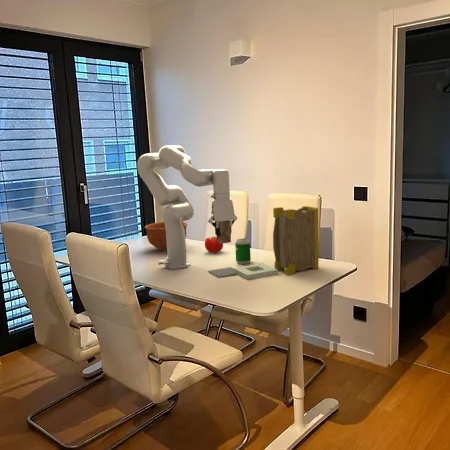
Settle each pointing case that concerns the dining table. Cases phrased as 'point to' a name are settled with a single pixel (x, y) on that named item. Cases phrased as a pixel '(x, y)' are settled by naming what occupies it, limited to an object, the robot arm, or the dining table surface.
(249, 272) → the pocket board
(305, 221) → the decorative book
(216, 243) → the tomato
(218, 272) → the rubber mat
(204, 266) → the dining table surface
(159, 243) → the bowl
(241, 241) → the soda can
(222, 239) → the walnut block
